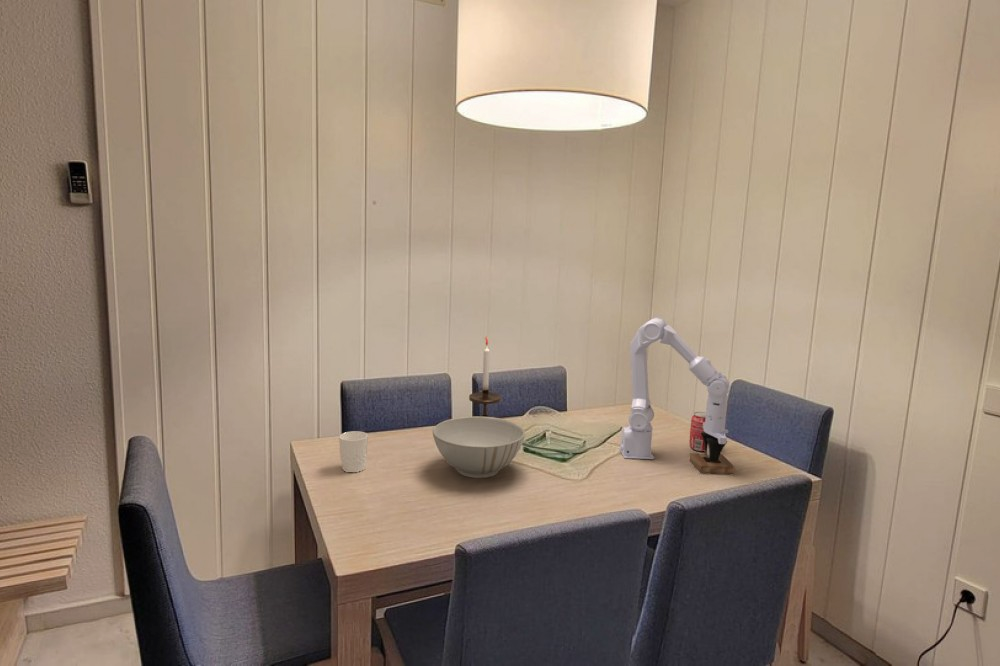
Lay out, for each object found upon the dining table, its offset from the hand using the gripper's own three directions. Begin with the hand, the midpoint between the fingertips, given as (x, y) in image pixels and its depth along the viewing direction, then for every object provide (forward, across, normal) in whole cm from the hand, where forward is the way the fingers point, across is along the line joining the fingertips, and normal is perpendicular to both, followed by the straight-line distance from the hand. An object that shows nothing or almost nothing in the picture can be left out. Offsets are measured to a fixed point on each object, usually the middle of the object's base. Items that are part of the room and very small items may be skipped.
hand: (711, 458), depth 179 cm
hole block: (+3, 0, 0) cm, 3 cm away
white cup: (+3, -9, +107) cm, 107 cm away
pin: (+2, 0, 0) cm, 2 cm away
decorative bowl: (+3, -7, +71) cm, 71 cm away
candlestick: (+3, +21, +70) cm, 73 cm away
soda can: (+3, +16, -2) cm, 16 cm away
